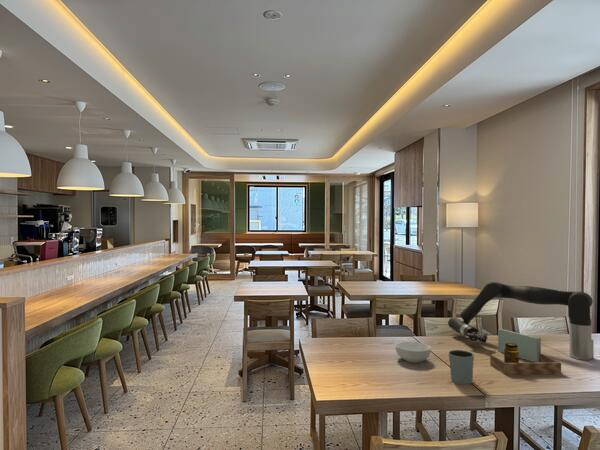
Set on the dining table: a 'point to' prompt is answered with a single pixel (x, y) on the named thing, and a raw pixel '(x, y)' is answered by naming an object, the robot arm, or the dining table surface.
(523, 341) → the cover door
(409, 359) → the cereal bowl
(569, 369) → the dining table surface
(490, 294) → the robot arm
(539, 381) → the dining table surface
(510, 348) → the condiment
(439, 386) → the dining table surface
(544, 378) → the dining table surface
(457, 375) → the blue-grey cup
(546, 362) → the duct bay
